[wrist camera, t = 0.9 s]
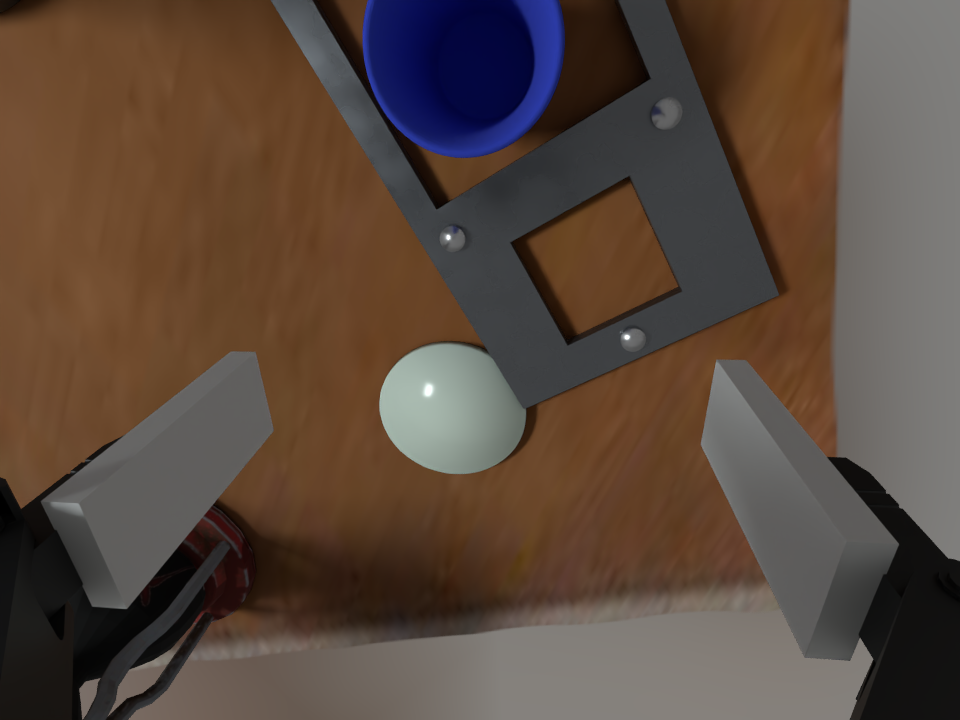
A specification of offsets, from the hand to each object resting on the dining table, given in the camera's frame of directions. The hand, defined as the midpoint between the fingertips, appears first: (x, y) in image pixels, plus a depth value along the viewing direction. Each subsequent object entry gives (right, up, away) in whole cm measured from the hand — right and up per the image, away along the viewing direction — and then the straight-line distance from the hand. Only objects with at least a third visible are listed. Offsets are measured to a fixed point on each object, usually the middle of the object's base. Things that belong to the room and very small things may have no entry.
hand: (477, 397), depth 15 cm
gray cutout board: (+3, +14, +16) cm, 22 cm away
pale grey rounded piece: (-2, -3, +24) cm, 25 cm away
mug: (0, +19, +14) cm, 24 cm away
